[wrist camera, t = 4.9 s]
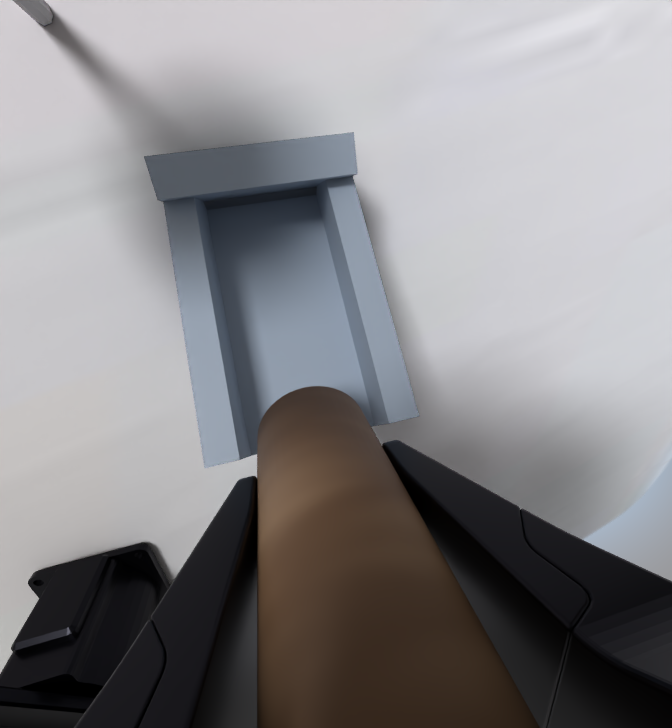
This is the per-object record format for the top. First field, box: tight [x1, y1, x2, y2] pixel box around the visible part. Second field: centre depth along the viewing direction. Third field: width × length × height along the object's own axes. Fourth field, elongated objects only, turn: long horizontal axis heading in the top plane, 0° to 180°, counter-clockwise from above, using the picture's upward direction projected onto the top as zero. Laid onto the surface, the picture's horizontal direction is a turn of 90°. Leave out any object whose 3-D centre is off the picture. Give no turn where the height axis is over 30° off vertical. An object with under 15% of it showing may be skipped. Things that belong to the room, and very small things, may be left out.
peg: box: [257, 386, 540, 728], centre depth 6 cm, size 3×3×8 cm
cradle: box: [144, 132, 419, 468], centre depth 13 cm, size 11×7×8 cm, turn 8°
